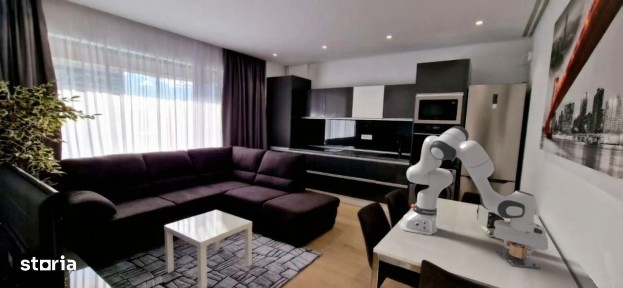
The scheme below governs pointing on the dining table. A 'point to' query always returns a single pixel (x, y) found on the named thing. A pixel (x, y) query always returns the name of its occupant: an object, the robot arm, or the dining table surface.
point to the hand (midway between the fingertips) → (517, 251)
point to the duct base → (517, 263)
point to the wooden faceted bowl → (518, 251)
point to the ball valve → (487, 220)
